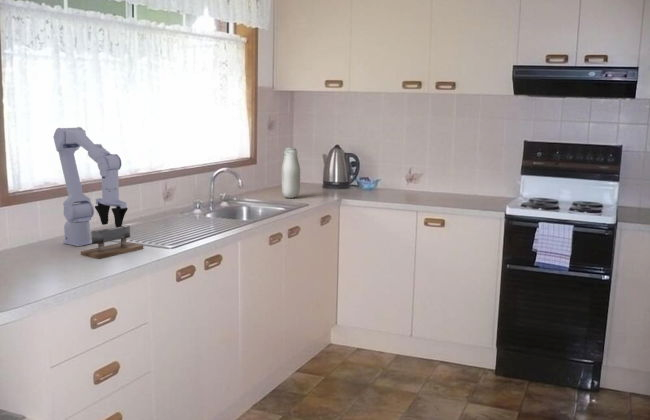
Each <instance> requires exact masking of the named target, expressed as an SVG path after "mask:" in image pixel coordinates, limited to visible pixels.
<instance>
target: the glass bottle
mask: <svg viewBox="0 0 650 420" xmlns="http://www.w3.org/2000/svg"><path fill="white" fill-rule="evenodd" d="M298 158H299V157H298V150H297V148H296V147H289V146H288V147H286V148H284V151H283V160H282V165H281V172H280V173H281V175H280V176H281V193H282V195H283V196H284V198H288V199H295V198H296V197H298V196H299V194H300V191H301V168H300V163H299V159H298Z"/></svg>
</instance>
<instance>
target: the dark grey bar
mask: <svg viewBox="0 0 650 420" xmlns="http://www.w3.org/2000/svg"><path fill="white" fill-rule="evenodd" d="M90 235H91V241H92V244H94V245H98V244H100V243H104V244H105V243H109V242H114V241H117V240H121V239H123V238H126V239H129V238H131V225H126V224H125V225H124V224H122V227H116V226H115V227H108V228H104V229H103V228H102V229H99V230H92V231H90Z"/></svg>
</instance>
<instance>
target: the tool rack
mask: <svg viewBox="0 0 650 420" xmlns="http://www.w3.org/2000/svg"><path fill="white" fill-rule="evenodd" d="M143 249H144V245H143V244H142V245H141V244H139V243H138V244H137V243H132V242H128V241H127V238H123V239H120V242H117V243H114V244H109V245H105V242H104V243H100V244H97V247H95V248H91V249H85V250H81V251H80V255H81V256H86V257H88V258H93V259H98V260H99V259H100V260H101V259H104V258H109V257H113V256H117V255H122V254H125V253H131V252H135V251H139V250H143Z"/></svg>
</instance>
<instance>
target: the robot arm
mask: <svg viewBox="0 0 650 420" xmlns="http://www.w3.org/2000/svg"><path fill="white" fill-rule="evenodd" d="M52 138H53V141H54V144H55V145H54V146H55V150H56V152H58V155H59V160H60V165H61V168H62V173H63V177H64V182H65V186H66V190H67V195H68V197H67V198H66V199H65V200H64V202H63V216H64V218H65V220H66V222H65V223H64V228H63V229H64V241H62V244H65V245H69V246H74V247H81V246H86V245H92V244H93V243H92V240H91V227H90V224H91V223H90V222H91V221H92V218H93V216H94V214H95V210H96V213H97V214H98V216H99V220H100V223H101V225H102V226H104V225H105V226H106V225H108V224H109V213H110V208H111V207H112V208H111V212H112V214H113V218H114V224H115V227H122V225H123V223H124V218H125V215H126V213H127V212H128V207H127V202H126V201H123V200H120V187H119V186H120V185H119V170H120V169H121V168H122V159H121V157H120V156H119V154H115V153H114V154H113V153H111V152H110V151H108V150H107V149H106V148H105V147H104V146H103V145H102V143H94V142H93V140H92V139H90V138H89V137H88V136H87V133H86V130H85V129H83V128H82V127H81V126H78V127H58V128H56V129H55V131H54V134H53V137H52ZM80 148H82V149H84V150H86V151H87V155H88V156H89V158H90V159H92V161H94V162H95V163H96V164H97V168H98V170H99V175H100V177H101V193H102V195H101V196H102V198H101V197H99V198H95V204H96V205H95V206H93V204H92V202H91V198H90V197H89V196H87V195H86V194H84V192H83V188H82V187H83V186H82V183H81V179H80V175H79V174H80V173H79V170H78V167H77V162H76V158H75V153H76V151H78V150H80Z"/></svg>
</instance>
